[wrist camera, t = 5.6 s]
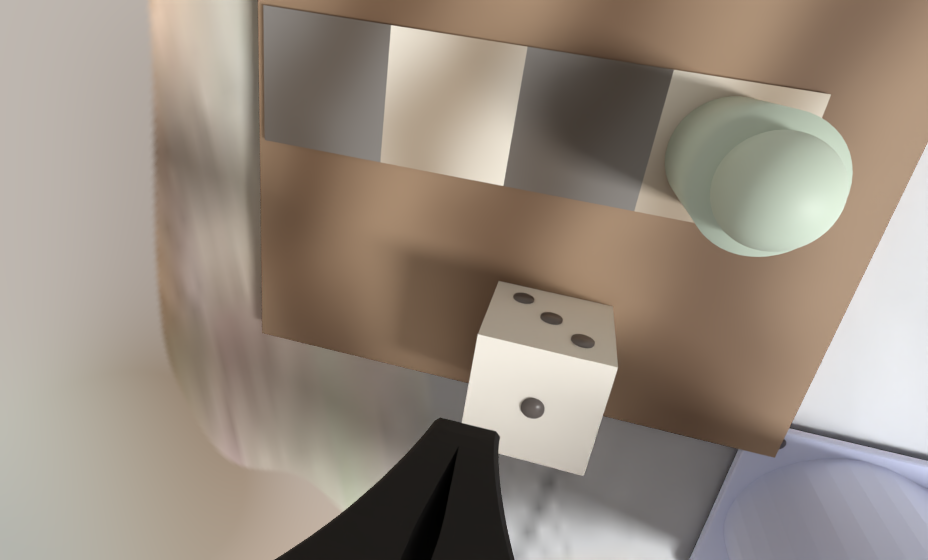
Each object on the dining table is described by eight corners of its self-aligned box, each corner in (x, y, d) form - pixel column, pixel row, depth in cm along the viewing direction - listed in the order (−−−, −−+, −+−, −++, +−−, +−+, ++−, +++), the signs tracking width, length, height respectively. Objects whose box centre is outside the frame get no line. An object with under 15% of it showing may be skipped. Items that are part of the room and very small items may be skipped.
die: (613, 304, 19) (618, 367, 15) (584, 400, 21) (584, 477, 17) (497, 278, 19) (475, 332, 16) (478, 374, 21) (455, 443, 17)
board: (1000, -50, 14) (1029, -57, 13) (768, 443, 21) (776, 461, 20) (270, -138, 17) (252, -149, 16) (272, 324, 23) (259, 335, 22)
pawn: (811, 110, 15) (934, 138, 10) (762, 225, 17) (847, 304, 11) (687, 84, 16) (741, 98, 10) (649, 199, 17) (679, 264, 12)
